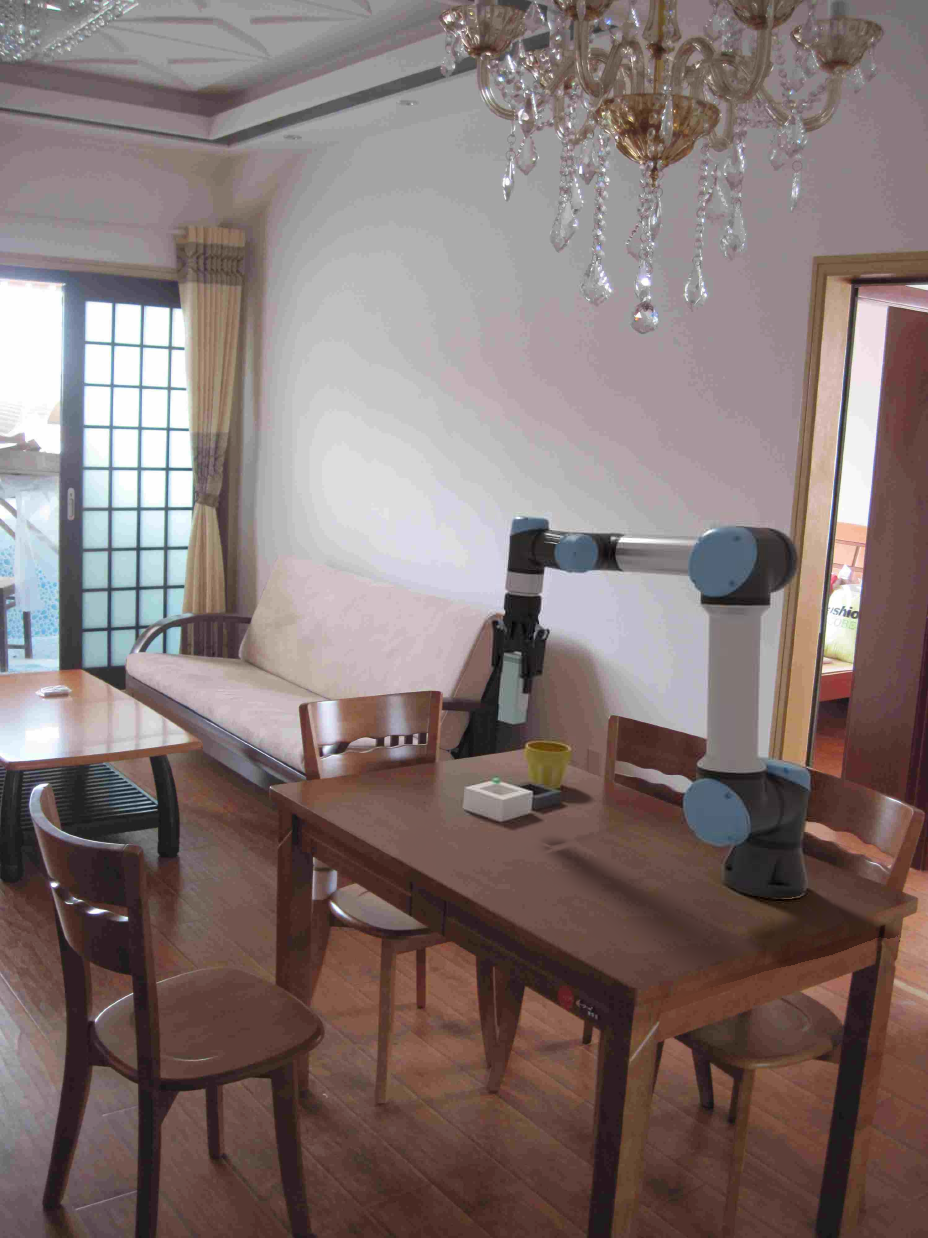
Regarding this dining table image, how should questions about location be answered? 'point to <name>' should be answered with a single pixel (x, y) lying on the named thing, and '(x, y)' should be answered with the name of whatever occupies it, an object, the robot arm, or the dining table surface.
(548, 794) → the dark grey square tray
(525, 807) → the box
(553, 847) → the dining table surface
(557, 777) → the plant pot
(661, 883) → the dining table surface
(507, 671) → the plug
